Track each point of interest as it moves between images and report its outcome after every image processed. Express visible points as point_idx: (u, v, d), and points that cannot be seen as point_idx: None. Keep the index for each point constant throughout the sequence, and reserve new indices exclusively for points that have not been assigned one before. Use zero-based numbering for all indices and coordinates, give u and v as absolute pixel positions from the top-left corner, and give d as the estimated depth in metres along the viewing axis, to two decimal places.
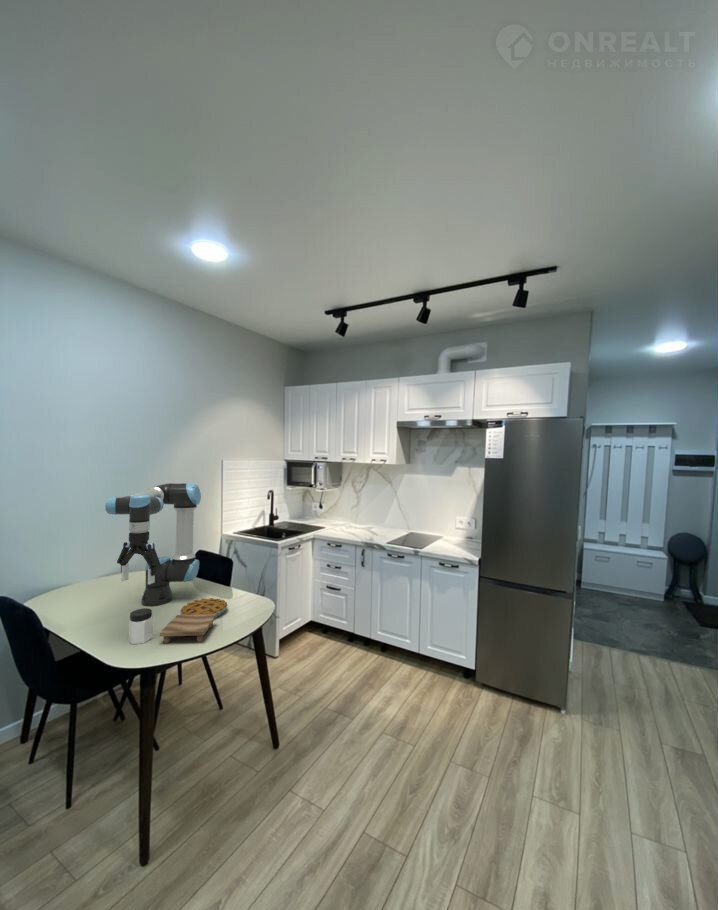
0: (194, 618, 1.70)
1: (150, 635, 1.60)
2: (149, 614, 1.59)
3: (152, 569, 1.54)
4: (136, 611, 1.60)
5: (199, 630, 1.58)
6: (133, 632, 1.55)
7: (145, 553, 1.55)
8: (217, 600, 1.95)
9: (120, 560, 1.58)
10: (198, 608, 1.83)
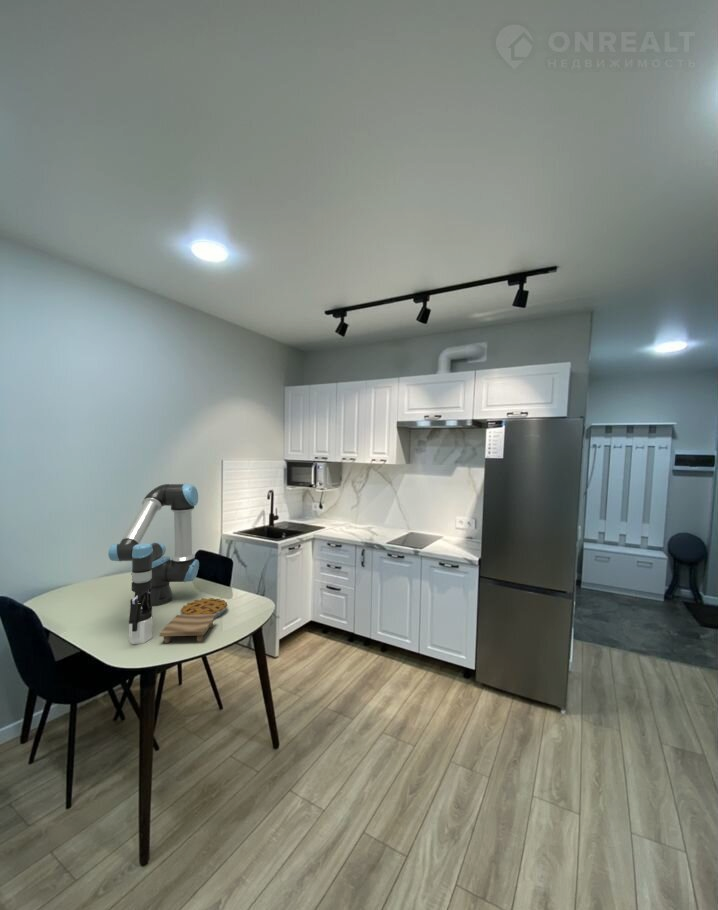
0: (194, 618, 1.70)
1: (150, 635, 1.60)
2: (149, 614, 1.59)
3: None
4: None
5: (199, 630, 1.58)
6: None
7: None
8: (217, 600, 1.95)
9: None
10: (198, 608, 1.83)
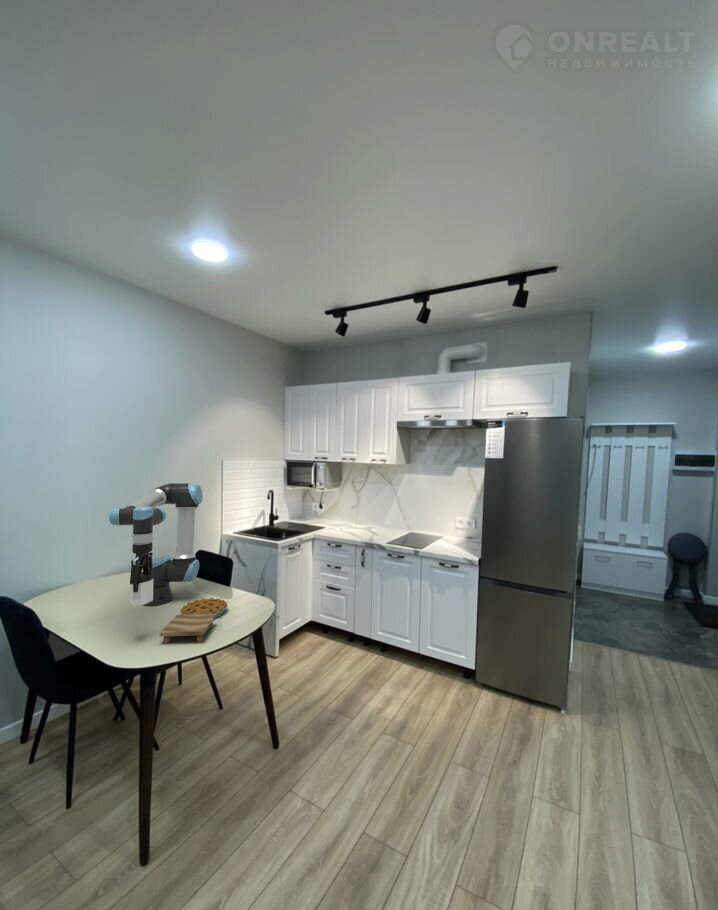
0: (194, 618, 1.70)
1: (151, 597, 1.60)
2: (150, 576, 1.59)
3: None
4: None
5: (199, 630, 1.58)
6: None
7: None
8: (217, 600, 1.95)
9: None
10: (198, 608, 1.83)
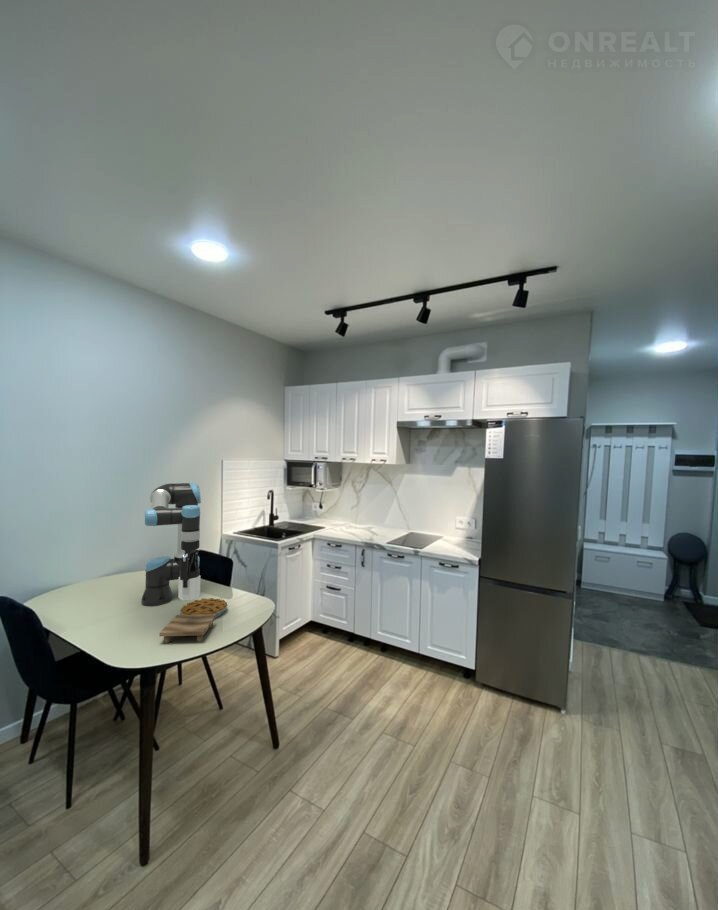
0: (194, 618, 1.70)
1: (198, 593, 1.66)
2: (198, 572, 1.65)
3: None
4: None
5: (199, 630, 1.58)
6: None
7: None
8: (217, 600, 1.95)
9: None
10: (198, 608, 1.83)
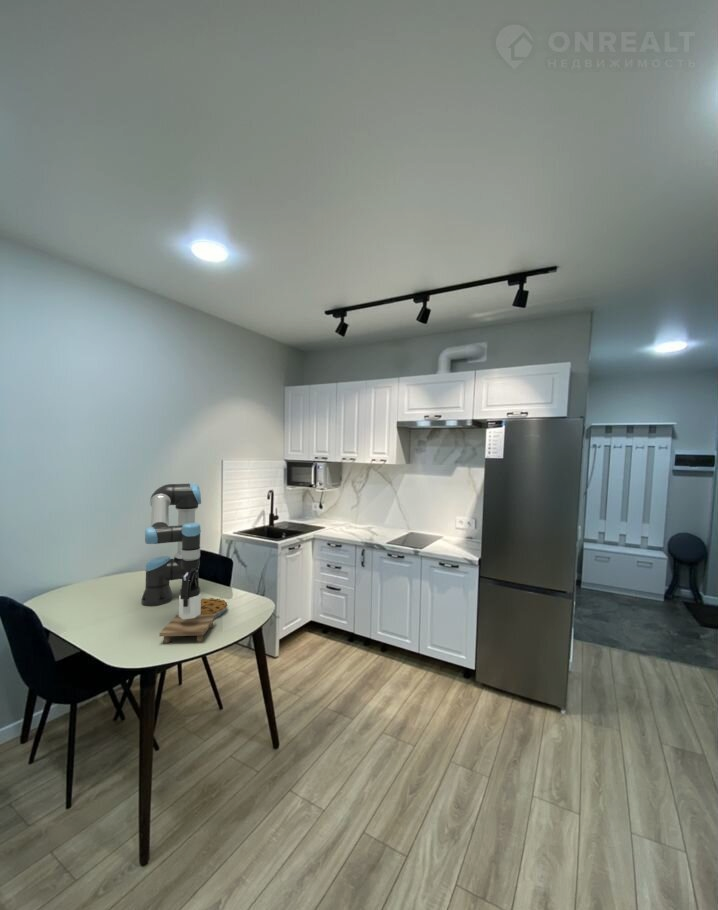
0: (194, 618, 1.70)
1: (199, 611, 1.66)
2: (198, 591, 1.65)
3: None
4: None
5: (199, 630, 1.58)
6: None
7: None
8: (217, 600, 1.95)
9: None
10: None
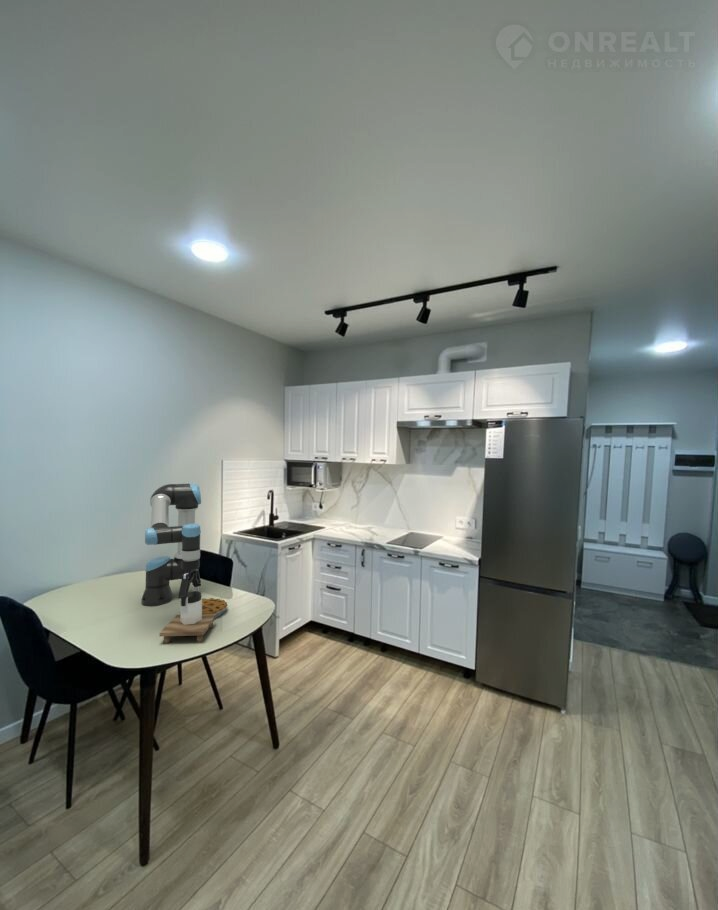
0: None
1: (200, 617, 1.67)
2: (199, 596, 1.67)
3: None
4: None
5: (199, 630, 1.58)
6: (185, 613, 1.63)
7: None
8: (217, 600, 1.95)
9: None
10: None
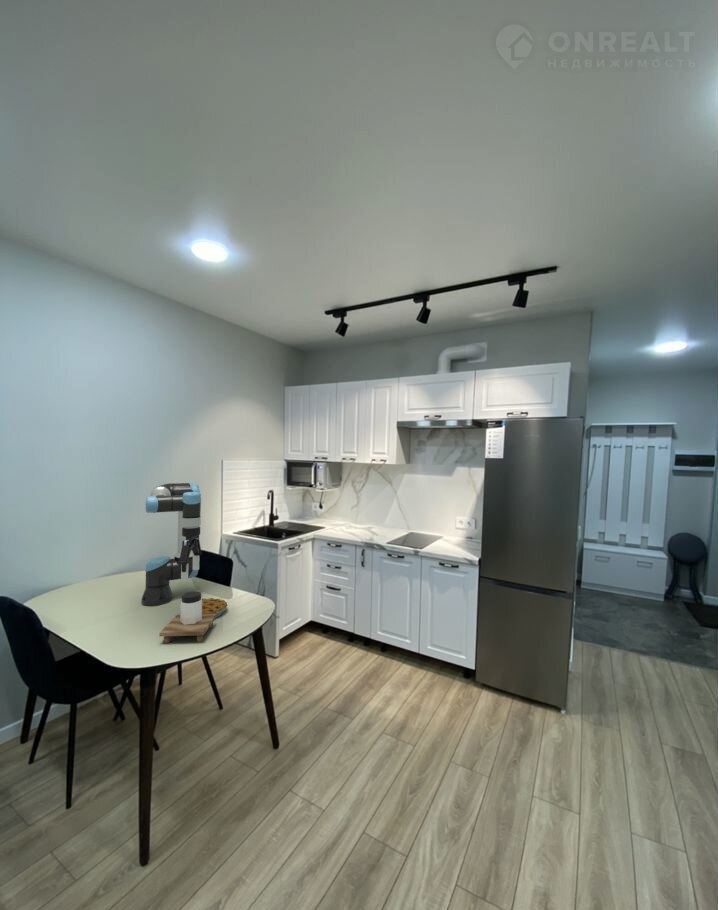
0: None
1: (200, 617, 1.67)
2: (199, 596, 1.67)
3: None
4: (187, 593, 1.68)
5: (199, 630, 1.58)
6: (185, 613, 1.63)
7: None
8: (217, 600, 1.95)
9: None
10: None
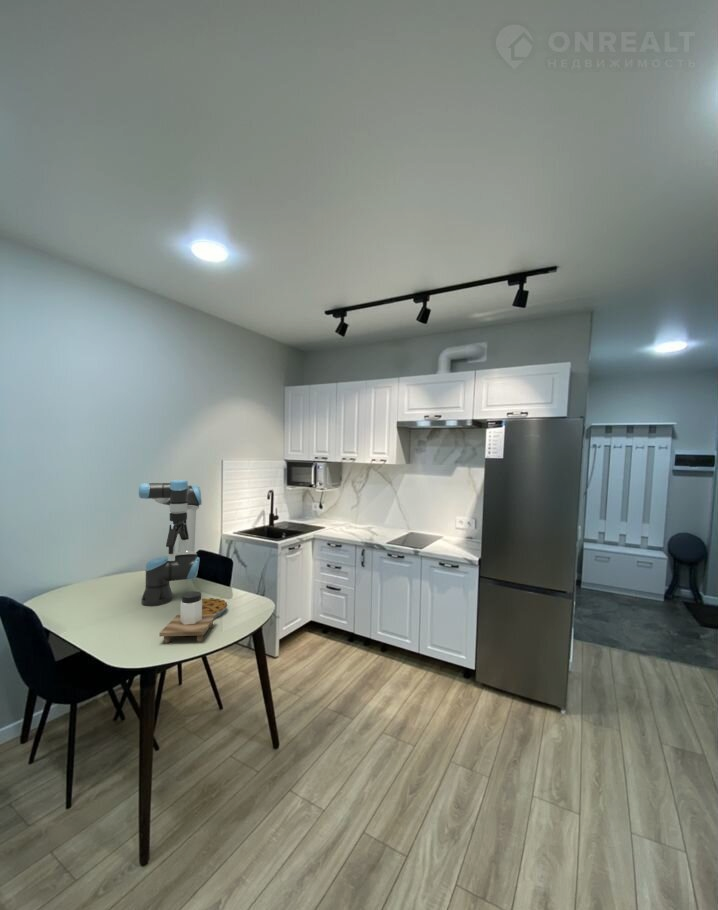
0: None
1: (200, 617, 1.67)
2: (199, 596, 1.67)
3: None
4: (187, 593, 1.68)
5: (199, 630, 1.58)
6: (185, 613, 1.63)
7: None
8: (217, 600, 1.95)
9: None
10: None
